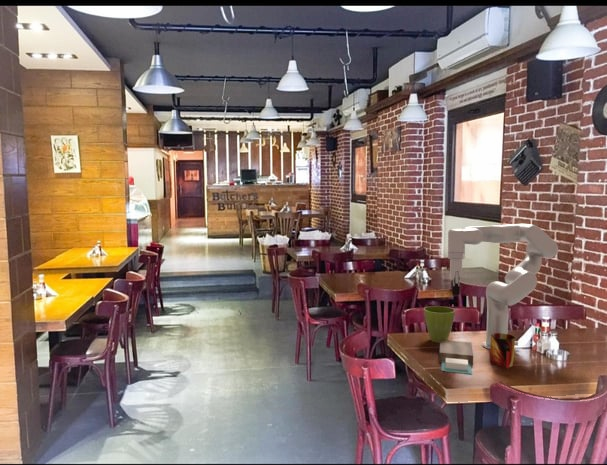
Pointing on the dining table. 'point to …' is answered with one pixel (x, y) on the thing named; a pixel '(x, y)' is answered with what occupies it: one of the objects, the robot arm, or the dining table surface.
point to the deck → (456, 350)
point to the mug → (502, 350)
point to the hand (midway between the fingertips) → (456, 294)
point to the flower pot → (439, 322)
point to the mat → (456, 369)
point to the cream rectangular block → (456, 364)
